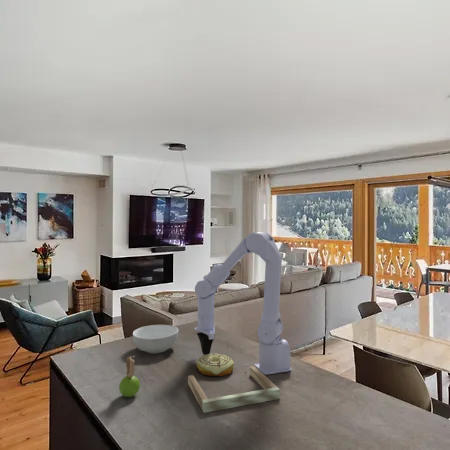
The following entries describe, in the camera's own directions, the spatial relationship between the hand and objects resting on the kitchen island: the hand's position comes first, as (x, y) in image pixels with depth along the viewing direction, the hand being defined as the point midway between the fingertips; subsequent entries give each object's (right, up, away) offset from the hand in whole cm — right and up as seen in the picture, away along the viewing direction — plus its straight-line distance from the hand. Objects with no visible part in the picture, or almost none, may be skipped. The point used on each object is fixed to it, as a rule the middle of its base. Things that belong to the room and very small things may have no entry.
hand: (206, 354), depth 124 cm
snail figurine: (-19, -2, -27) cm, 33 cm away
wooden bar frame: (+9, -2, -24) cm, 26 cm away
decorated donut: (+3, -2, -10) cm, 10 cm away
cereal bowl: (-19, -2, +9) cm, 21 cm away
